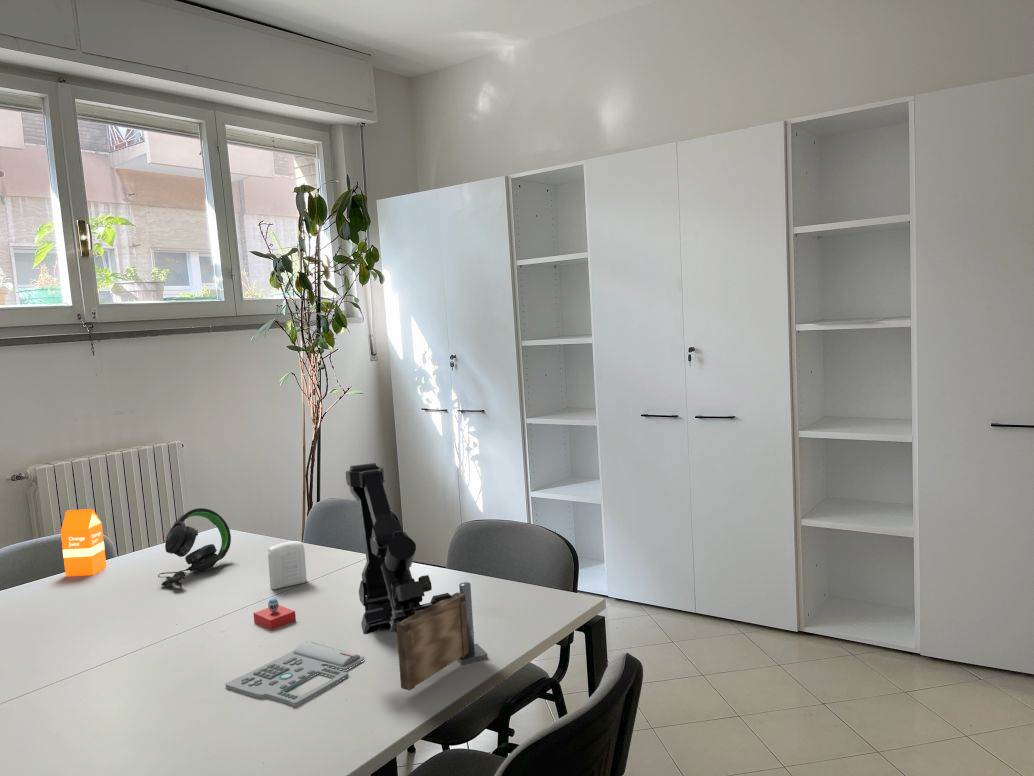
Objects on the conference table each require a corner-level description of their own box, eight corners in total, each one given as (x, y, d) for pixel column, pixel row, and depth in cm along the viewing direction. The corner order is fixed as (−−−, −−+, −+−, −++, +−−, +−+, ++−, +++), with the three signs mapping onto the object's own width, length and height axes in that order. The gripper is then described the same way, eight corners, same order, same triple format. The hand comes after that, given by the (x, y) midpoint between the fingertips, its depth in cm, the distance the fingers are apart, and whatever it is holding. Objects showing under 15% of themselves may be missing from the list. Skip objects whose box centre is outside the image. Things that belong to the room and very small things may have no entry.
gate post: (477, 647, 169) (472, 577, 167) (487, 658, 163) (483, 585, 162) (451, 654, 166) (446, 582, 165) (461, 664, 161) (456, 591, 160)
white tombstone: (304, 578, 223) (300, 537, 222) (309, 582, 219) (305, 540, 218) (268, 587, 217) (264, 544, 216) (272, 591, 214) (269, 547, 212)
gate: (460, 651, 164) (456, 592, 163) (468, 653, 163) (464, 594, 162) (401, 688, 149) (396, 623, 148) (409, 690, 148) (404, 625, 147)
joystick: (295, 622, 191) (293, 597, 190) (271, 631, 186) (269, 606, 185) (278, 615, 196) (276, 591, 195) (254, 623, 191) (252, 599, 190)
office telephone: (310, 636, 176) (375, 652, 165) (311, 647, 176) (375, 663, 166) (223, 677, 157) (290, 698, 146) (225, 690, 157) (291, 712, 146)
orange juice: (93, 575, 238) (86, 512, 236) (65, 576, 238) (57, 513, 236) (107, 566, 245) (100, 505, 244) (79, 568, 246) (72, 507, 244)
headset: (178, 610, 227) (230, 539, 250) (202, 597, 220) (253, 526, 243) (130, 571, 222) (188, 503, 245) (154, 557, 214) (211, 488, 238)
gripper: (360, 573, 153) (379, 647, 144) (448, 555, 161) (471, 624, 152) (354, 598, 161) (371, 669, 152) (438, 580, 169) (459, 647, 160)
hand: (419, 652), depth 154 cm, fingers closed
